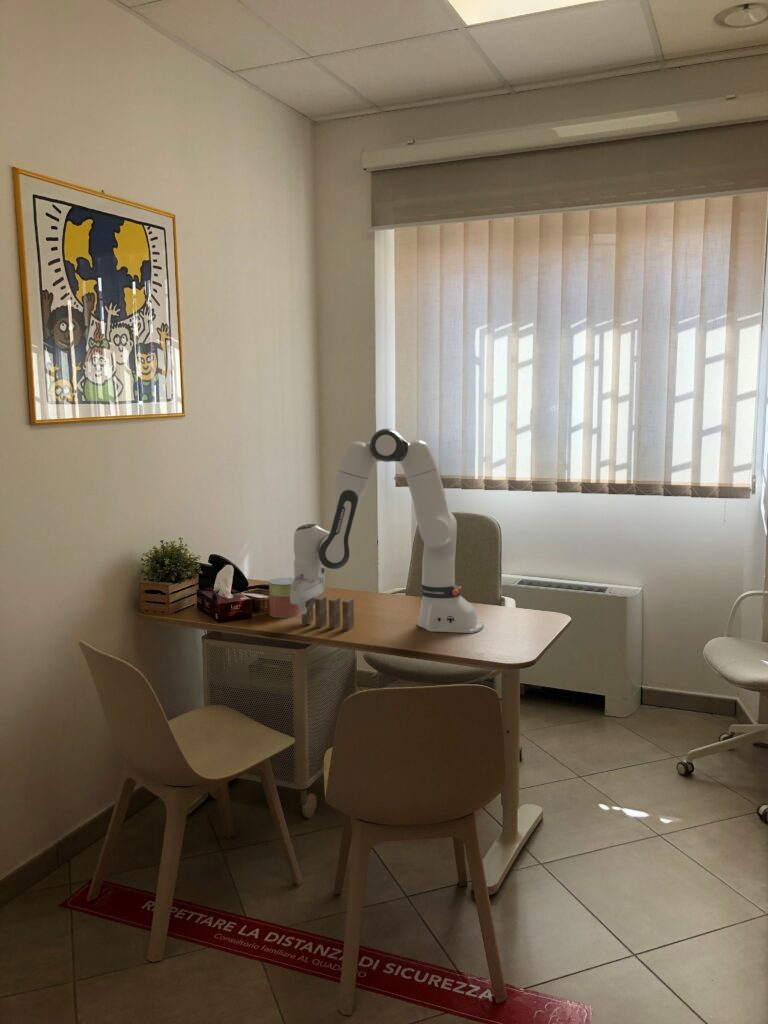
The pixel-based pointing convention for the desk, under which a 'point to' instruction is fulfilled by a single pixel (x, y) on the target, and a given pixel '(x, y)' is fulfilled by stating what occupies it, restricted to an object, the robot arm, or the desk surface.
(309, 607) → the domino
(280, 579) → the canned food
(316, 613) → the domino
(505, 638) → the desk surface
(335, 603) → the domino
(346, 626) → the domino
